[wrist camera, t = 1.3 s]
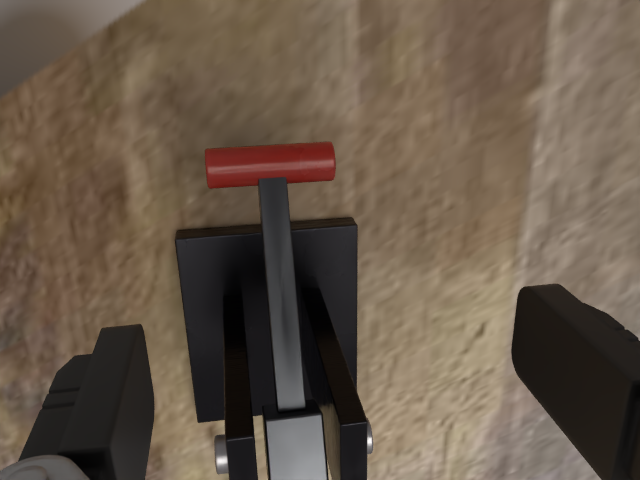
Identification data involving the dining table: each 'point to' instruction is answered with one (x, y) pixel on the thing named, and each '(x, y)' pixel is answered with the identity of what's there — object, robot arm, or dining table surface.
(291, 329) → the lever
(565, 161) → the dining table surface
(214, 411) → the bracket
